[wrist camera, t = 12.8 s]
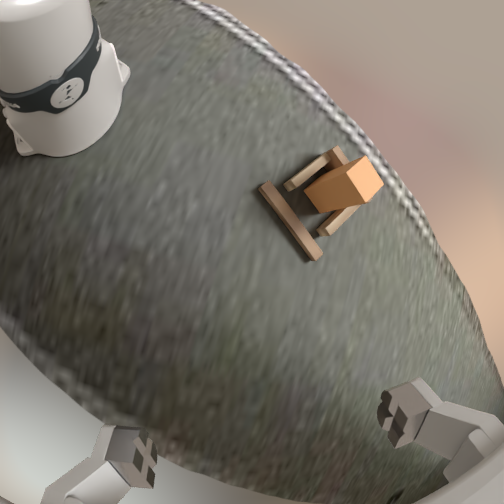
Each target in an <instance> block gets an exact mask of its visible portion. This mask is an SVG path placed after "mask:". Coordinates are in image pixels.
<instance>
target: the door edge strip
mask: <svg viewBox="0 0 504 504" xmlns="http://www.w3.org/2000/svg"><path fill="white" fill-rule="evenodd" d="M258 190H259V191H260V192H261V194H262V195H263V196H264V198H265V199H266V200H267V201H268V203H269V204H270V205H271V207H272V208H273V209H274V211H275V212H276V213H277V215H278V216H279V217H280V219H281V220H282V221H283V223H284V224H285V225H286V227H287V228H288V229H289V231H290V232H291V233H292V235H293V236H294V237H295V239H296V240H297V241H298V243H299V244H300V246H301V247H302V248H303V250H304V251H305V252H306V254H307V255H308V257H309V258H310V259H311V261H317V260H318V259H319V258H320V257H321V256H322V255H323V252H322V251H321V250H320V248H319V247H318V245H317V244H316V242H315V241H314V240H313V238H312V237H311V235H310V234H309V233H308V231H307V230H306V228H305V227H304V226H303V224H302V223H301V222H300V220H299V219H298V217H297V216H296V215H295V213H294V212H293V211H292V209H291V208H290V207H289V205H288V204H287V203H286V201H285V200H284V199H283V197H282V196H281V195H280V193H279V192H278V191H277V189H276V188H275V187H274V185H273V184H272V183H271V181H270V180H269V181H267V182H266V183H264V184H263V185H262V186H261V187H259V188H258Z"/></svg>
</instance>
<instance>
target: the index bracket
mask: <svg viewBox="0 0 504 504" xmlns="http://www.w3.org/2000/svg"><path fill="white" fill-rule="evenodd" d="M347 163H349V161H348V159H347V158H346V156H345V155H344V154H343V152H342V151H341V149H340V148H339V147H338V145H337V146H335V147H334V148H332V149H330V150H328V151H327V152H325V153H323V154H322V155H320V156H319V157H318V158H316V159H315V160H314V161H312V162H311V163H310V164H309V165H307V166H306V167H305V168H303V169H302V170H301V171H300V172H298V173H297V174H296V175H294V176H293V177H292V178H291V179H289V180H288V181H287V182H286V183H284V184H283V185H284V187H285V188H286V189H287V191H288V192H289V191H291V190H293V189H295V188H297V187H298V186H300V185H301V184H302V183H303V182H305V181H306V180H307V179H308V178H309V177H311V176H312V175H313V174H314V173H316V172H317V171H318V170H319V169H321V168H322V167H323V166H324V167H325V169H326V170H327V172H329V171H332V170H334V169H336V168H338V167H340V166H343V165H345V164H347ZM371 199H372V197H371V198H370V199H369V200H368V201H367V202H366V203H369V202H370V200H371ZM364 204H365V203H364ZM360 205H361V204H359V205H355V206H350V207H346V208H342V209H338V210H336V211H335V212H334V213H333V214H332V215H331V216H330V217H329V218H328V219H327V220H326V221H325V222H324V223H322V224H321V225H320V226H319V227H318V228H317V229H316V231H317V232H318V233H319V235H320V236H331V235H332V234H333V233H334V232H335V231H336V230H337V229H338V228H339V227H340V226H341V225H342V224H343V223H344V222H345V221H346V220H347V219H348V218H349V217H350V216H351V215H352V214H353V213H354V212H355V211H356V210H357V209H358V208H359V207H360Z"/></svg>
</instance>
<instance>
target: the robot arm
mask: <svg viewBox="0 0 504 504" xmlns="http://www.w3.org/2000/svg"><path fill="white" fill-rule="evenodd" d="M129 77H130V69H129V67H128V66H127V65H126V64H124V63H123V62H121V61H120V60H118V59H117V56H116V52H115V49H114V46H113V44H112V43H108V42H107V41H105V40H103V39H101V33H100V29H99V26H98V25H97V21H96V19H95V18H94V16H93V15H91V10H90V4H89V0H0V102H1V104H2V105H3V106H4V107H5V106H6V107H5V108H4V109H3V114H4V116H5V117H6V118H7V120H6V122H7V124H8V126H9V127H10V128H11V129H12V130H13V133H14V138H15V143H16V147H17V151H18V152H19V153H20V155H22V156H29V155H33V154H37V153H40V154H45V155H48V156H54V157H61V156H68V155H72V154H75V153H77V152H80V151H82V150H84V149H86V148H87V147H89V146H90V145H92V144H93V143H95V142H96V141H97V140H98V139H99V138H101V137H102V136H103V135H104V134H105V132H106V131H107V130H108V129H109V128H110V126H111V125H112V123H113V122H114V120H115V118H116V116H117V114H118V112H119V109H120V105H121V99H122V90H123V87H124V86H125V84H126V82H127V81H128V79H129ZM22 141H23V142H22ZM381 399H382V401H383V402H382V403H381V404H380V405H379V406H378V410H377V418H378V421H379V424H380V426H381V427H382V429H384V430H387V431H388V435H387V437H388V439H389V441H390V442H391V444H392V446H393V447H394V449H396V448H398V447H401V446H403V445H406V444H408V443H410V442H413V441H414V442H415V443H417V444H419V445H421V446H423V447H425V448H427V449H429V450H430V451H432V452H434V453H436V454H438V455H440V456H442V457H444V458H446V459H448V460H451V461H450V463H449V464H448V465H447V467H446V468H445V469H444V472H443V474H444V475H445V477H446V478H447V480H448V481H449V484H447V485H445V486H444V487H442V488H440V489H439V490H437V491H435V492H434V493H432V494H430V495H428V496H426V497H425V498H423V499H421V500H419V501H417V502H415V503H413V504H504V425H503V424H502V423H501V422H500V421H499V419H498V418H497V417H496V416H495V415H492V414H488V413H485V412H481V411H477V410H474V409H471V408H467V407H464V406H461V405H457V404H454V403H451V402H448V401H445V402H442V400H441V399H440V398H439V397H438V396H437V395H436V394H435V393H434V391H433V390H432V389H431V388H430V387H429V386H428V385H427V384H426V383H425V382H424V380H423V379H422V378H419V377H418V378H416V379H413V380H411V381H408V382H405V383H402V384H400V385H397V386H395V387H392V388H389V389H386V390H384V391H383V392H382V395H381ZM156 464H157V450H156V447H155V444H154V443H153V441H152V440H150V439H148V432H147V431H146V429H145V428H141V427H127V426H116V425H106V424H104V425H103V426H102V427H101V430H100V433H99V436H98V438H97V441H96V444H95V447H94V449H93V452H92V455H91V458H86V459H85V460H83V461H82V462H81V463H79V464H78V465H77V466H75V467H74V468H73V469H71V470H70V471H69V472H68V473H66V474H65V475H63V476H62V477H61V478H59V479H58V480H57V481H55V482H54V483H52V484H51V485H49V486H48V487H47V488H46V489H45V492H44V495H43V498H42V501H41V504H117V503H118V502H119V501H120V500H121V499H122V498H123V497H124V496H125V494H126V493H127V492H128V491H129V490H130V489H131V487H139V488H152V489H153V486H154V478H155V473H154V472H153V470H152V468H153V467H154V466H155V465H156ZM0 504H14V503H12V502H10V501H8V500H6V499H4V498H3V497H1V496H0Z"/></svg>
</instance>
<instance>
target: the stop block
mask: <svg viewBox="0 0 504 504" xmlns="http://www.w3.org/2000/svg"><path fill="white" fill-rule="evenodd" d="M383 185H384V184H383V182H382V180H381V179H380V177H379V175H378V174H377V172H376V171H375V169H374V167H373V166H372V164H371V163H370V161H369V160H368V158H367V157H366V155H365V156H363V157H361V158H358V159H356V160H354V161H352V162H349V163H347V164H345V165H343V166H340V167H338V168H336V169H334V170H332V171H329V172H327V173H325V174H323V175H321V176H320V177H319V178H317V179H316V180H315V181H314V182H313V183H311V184H310V185H309V186H308V187H307V188H305V189H304V192H305V193H306V195H307V196H308V197H309V199H310V200H311V202H312V203H313V204H314V206H315V207H316V209H317V210H318V211H319V213H325V212H329V211H333V210H338V209H342V208H346V207H350V206H355V205H359V204H364V203H366V202H367V201H368V200H369V199H370V198H371V197H372V196H373V195H374V194H375V193H376V192H377V191H378V190H379V189H380V188H381V187H382V186H383Z"/></svg>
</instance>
